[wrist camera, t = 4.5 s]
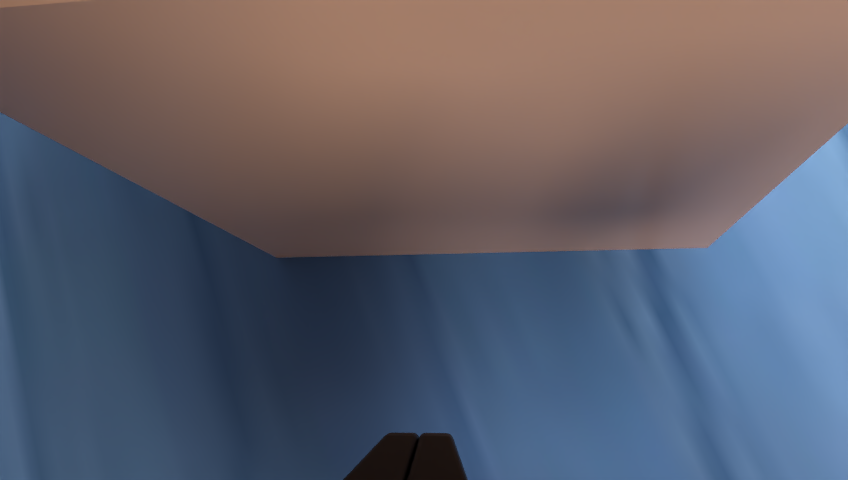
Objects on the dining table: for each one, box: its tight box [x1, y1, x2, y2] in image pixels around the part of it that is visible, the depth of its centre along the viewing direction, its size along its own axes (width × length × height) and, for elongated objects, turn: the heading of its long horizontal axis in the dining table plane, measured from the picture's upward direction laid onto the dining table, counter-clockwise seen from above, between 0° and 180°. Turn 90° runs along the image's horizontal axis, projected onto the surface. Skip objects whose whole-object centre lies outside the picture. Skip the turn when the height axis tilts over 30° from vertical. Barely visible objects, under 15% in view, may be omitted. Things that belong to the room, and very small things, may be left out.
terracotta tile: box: [0, 0, 848, 258], centre depth 14 cm, size 2×12×14 cm, turn 90°
